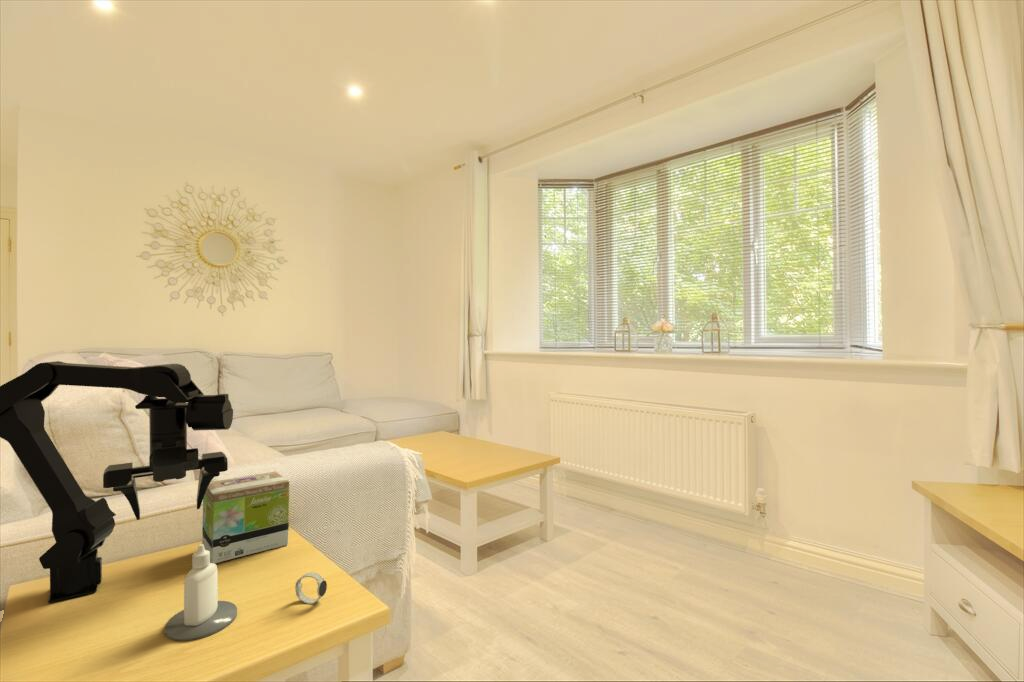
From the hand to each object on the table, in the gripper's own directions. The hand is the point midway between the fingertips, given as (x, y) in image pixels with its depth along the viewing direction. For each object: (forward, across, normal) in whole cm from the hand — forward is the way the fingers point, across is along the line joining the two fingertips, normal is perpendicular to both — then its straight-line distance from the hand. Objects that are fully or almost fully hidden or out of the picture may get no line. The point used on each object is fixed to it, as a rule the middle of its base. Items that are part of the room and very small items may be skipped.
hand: (169, 513), depth 92 cm
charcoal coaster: (+13, +4, -18) cm, 23 cm away
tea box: (+13, +14, +8) cm, 21 cm away
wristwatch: (+13, +20, -22) cm, 33 cm away
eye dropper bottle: (+13, +4, -18) cm, 22 cm away
